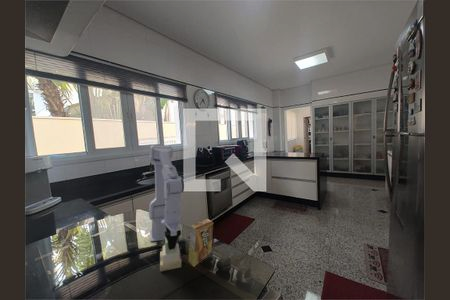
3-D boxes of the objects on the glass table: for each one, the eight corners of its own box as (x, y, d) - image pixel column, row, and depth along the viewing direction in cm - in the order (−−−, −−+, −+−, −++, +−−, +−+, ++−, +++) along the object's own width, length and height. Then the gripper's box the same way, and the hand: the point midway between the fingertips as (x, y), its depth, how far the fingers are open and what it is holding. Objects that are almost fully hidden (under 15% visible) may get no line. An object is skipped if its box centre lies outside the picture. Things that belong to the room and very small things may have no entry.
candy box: (204, 251, 74) (207, 218, 73) (211, 257, 72) (213, 222, 70) (187, 261, 68) (190, 225, 67) (194, 268, 65) (196, 229, 64)
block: (164, 246, 68) (165, 237, 67) (175, 244, 69) (175, 235, 69) (165, 253, 64) (165, 243, 64) (176, 251, 66) (176, 241, 65)
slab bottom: (159, 258, 69) (160, 251, 69) (178, 254, 72) (179, 248, 72) (160, 272, 62) (160, 265, 62) (181, 268, 65) (181, 260, 65)
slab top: (162, 252, 69) (162, 245, 68) (177, 249, 71) (178, 243, 70) (162, 263, 63) (162, 255, 63) (179, 260, 65) (179, 252, 65)
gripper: (160, 202, 70) (159, 234, 72) (162, 219, 57) (160, 257, 58) (178, 201, 73) (176, 231, 74) (183, 217, 60) (181, 253, 61)
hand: (171, 243), depth 66 cm, fingers open, 6 cm apart
